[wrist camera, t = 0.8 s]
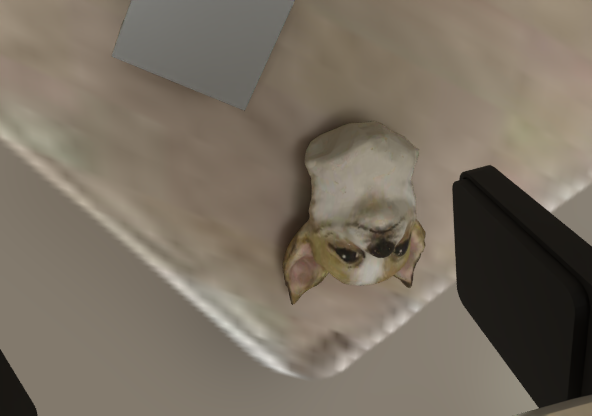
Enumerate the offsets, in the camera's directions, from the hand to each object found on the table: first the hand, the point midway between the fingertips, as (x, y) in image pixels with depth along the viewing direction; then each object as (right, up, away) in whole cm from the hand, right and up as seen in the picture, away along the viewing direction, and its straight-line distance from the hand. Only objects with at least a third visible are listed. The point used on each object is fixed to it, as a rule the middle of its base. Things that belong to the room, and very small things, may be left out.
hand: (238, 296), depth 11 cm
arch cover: (-5, +14, +22) cm, 27 cm away
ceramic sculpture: (+5, +3, +31) cm, 31 cm away
